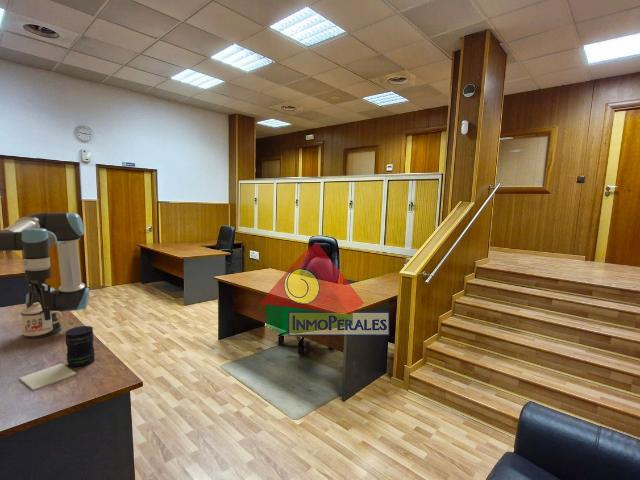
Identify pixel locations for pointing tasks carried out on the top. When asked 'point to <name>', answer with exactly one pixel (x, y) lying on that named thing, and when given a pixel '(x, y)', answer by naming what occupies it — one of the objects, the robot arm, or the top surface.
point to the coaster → (47, 376)
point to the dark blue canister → (80, 346)
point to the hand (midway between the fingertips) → (42, 324)
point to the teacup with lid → (35, 320)
